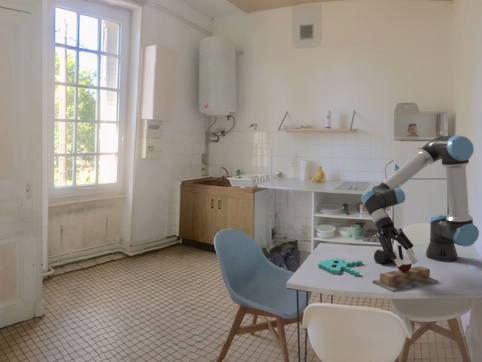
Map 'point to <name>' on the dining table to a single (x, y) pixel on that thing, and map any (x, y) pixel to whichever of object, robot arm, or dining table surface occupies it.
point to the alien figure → (339, 266)
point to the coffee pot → (382, 257)
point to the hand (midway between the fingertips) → (408, 264)
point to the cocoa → (404, 261)
